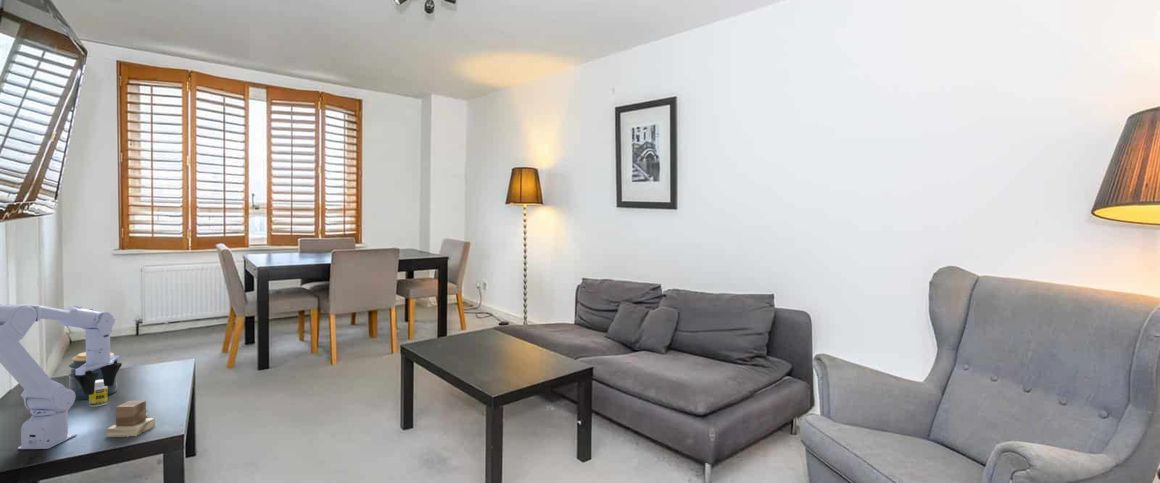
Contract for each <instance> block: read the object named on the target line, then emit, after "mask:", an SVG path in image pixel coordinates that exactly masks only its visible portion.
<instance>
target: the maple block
mask: <svg viewBox="0 0 1160 483" xmlns="http://www.w3.org/2000/svg"><path fill="white" fill-rule="evenodd" d="M155 422H156V419H155V417H150V418H149V417H148V418H147V417H146V420H144V421H142V422H140V423H138V424H136V425H134V426H116V423H115V424H113V425H111V426H109V427H108V428H106V438H107V437H108V438H115V437H117V438H118V437H119V438H122V437H124V438H125V436H126V437H127V438H128V437H129V436H136V437H138V436H139V435H141V434H143V433H145V432H147V431H149V430H150V429H151V428H154V427H155V426H156V423H155ZM146 430H147V431H146ZM144 431H145V432H144ZM142 432H143V433H142ZM137 435H138V436H137Z"/></svg>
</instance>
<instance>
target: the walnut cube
mask: <svg viewBox="0 0 1160 483" xmlns="http://www.w3.org/2000/svg"><path fill="white" fill-rule="evenodd" d="M146 410H147V401H146V400H128V401H126V402H123V403H122V404H119V405H117V406H115V424H116V426H134V425H136V424H138V423H140V422H142V421H144V420H146V418H147V417H146Z"/></svg>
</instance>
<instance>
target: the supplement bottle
mask: <svg viewBox="0 0 1160 483" xmlns="http://www.w3.org/2000/svg"><path fill="white" fill-rule="evenodd" d="M107 391H108V387H107V386H104V381H103V380H96V381H95V389H94V394H92V395H89V399H88V406H89V407H91V408H96V407H102V406H104V405H107V404H108V395H107Z"/></svg>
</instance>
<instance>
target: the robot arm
mask: <svg viewBox="0 0 1160 483" xmlns="http://www.w3.org/2000/svg"><path fill="white" fill-rule="evenodd" d="M40 319H42V320H51V321H59V323H60V325H62V326H64V327H70V328H80V329H82V330H84V332H85V333H84V334H85V335H84V336H85V352H86V363H85V364H84V365H82V366H81V367H79V368H77V369H75V370H76V374H74V377H75V378H76V379H77V380H78V382H79V383H80V385H81V386H82V389H83V391H84V394H85V395H92V394H94V389H95V381H96V378H97V376H98V373H93V372H91V371H93V370H95V369H98V368H100V369H101V371H102V374H103V381H104V386H113V384H114V380H115V377H116V374H118V372H119V370H120V369H121V367H122V364H123V363H122V362H121V358H120V357H121V356H120V355H114V356H111V357H110V352H111V333H112V331H113V330H112V329H113V326H114V325H115V323H116V318H114V316H113V314H111V313H110V312H109V311H97V309H95V308H89V309H86V308H83V306H80V305H74V306H70V307H67V308H65V309H61V308H55V307H50V306H45V305H40V304H9V303H8V304H0V364H1V366H2V367H3V368H4V369H5V370H6V371H7V372H8V373H9V375H11V377H12V378H13V379H14V380H15V381H16V382H17V383H18V384H19V385H20V386H21V387H22V389H23V391H22V392H21V394H20V397H21V398H22V399H23V403H24V407H25V408H26V409H27V410H29V412H30V414H31V416H30V418H28V419H27V420H25V422H23V424H22V425H21V427H20V443H21V444H20V446H18V447H17V449H18V450H46V449H47V450H48V449H50V448H53V447H54V446H57V445H59V444H60V443H64V442H65V441H68V440H70V439H72V438H74V437H76V436H77V433H68V432H69V430H68V429H69V427H68V426H69V422H68V420H69V419H68V418H69V417H68V414H69V410H70V409H71V407H72V406H73V405H74V404H75V400H76V399H75V393H74V391H73V390H71V389H69V388H67V387H66V386H65V385H63V384H62V383H59V382H57V381H55V380H53V379H51V378H50V376H49V375H48V374H47V373H46V372H45V371H44V370H43V368H42V367H41V366H40V365H39V364H38V362H37V361H36V360H35V358H33V356H31V354H30V352H28V351H27V350H26V349H25V347H24V345H22V343H20V341H21V340H23V338H24V337H25V336H26V335H27V333H28V332H29V331H30V329H31V328H32V327H33V325H34V324H35V322H40Z"/></svg>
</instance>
